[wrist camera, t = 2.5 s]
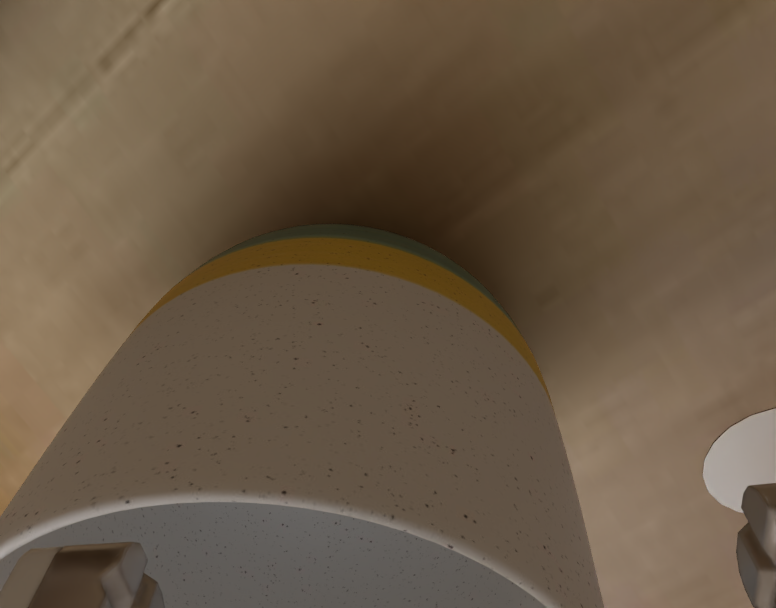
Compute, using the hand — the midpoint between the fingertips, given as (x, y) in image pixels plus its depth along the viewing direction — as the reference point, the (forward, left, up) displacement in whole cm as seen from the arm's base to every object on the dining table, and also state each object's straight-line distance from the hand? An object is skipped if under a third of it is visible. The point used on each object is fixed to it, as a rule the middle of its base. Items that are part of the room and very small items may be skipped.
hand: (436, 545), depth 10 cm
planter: (+7, +12, -26) cm, 30 cm away
